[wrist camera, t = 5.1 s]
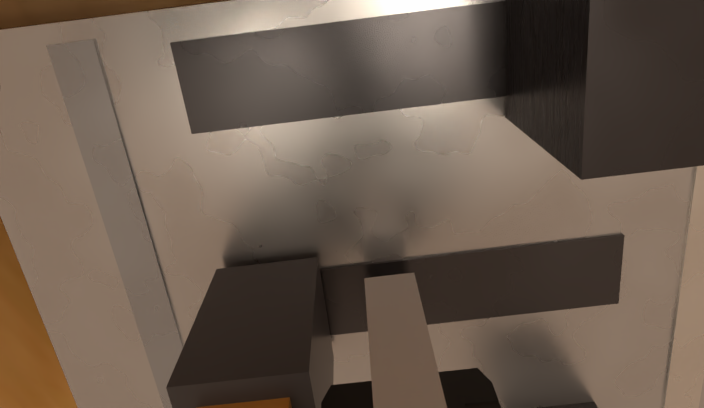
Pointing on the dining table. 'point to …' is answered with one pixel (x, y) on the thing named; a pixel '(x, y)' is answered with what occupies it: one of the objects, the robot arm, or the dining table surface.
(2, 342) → the dining table surface
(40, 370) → the dining table surface
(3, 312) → the dining table surface
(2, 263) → the dining table surface
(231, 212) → the breaker panel
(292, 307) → the toggle
